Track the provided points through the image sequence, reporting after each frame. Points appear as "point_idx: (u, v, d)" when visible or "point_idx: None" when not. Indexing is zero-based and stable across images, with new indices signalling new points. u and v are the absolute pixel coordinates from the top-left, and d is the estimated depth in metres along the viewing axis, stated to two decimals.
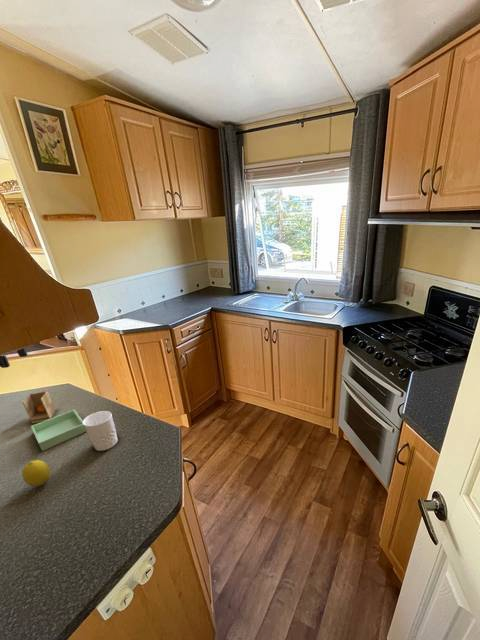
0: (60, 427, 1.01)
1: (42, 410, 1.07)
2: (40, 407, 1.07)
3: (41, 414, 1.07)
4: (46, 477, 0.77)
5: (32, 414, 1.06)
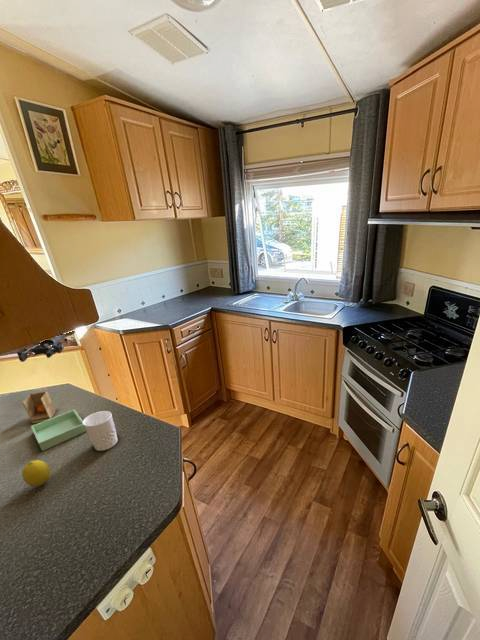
0: (60, 427, 1.01)
1: (42, 410, 1.07)
2: (40, 407, 1.07)
3: (41, 414, 1.07)
4: (46, 477, 0.77)
5: (32, 414, 1.06)
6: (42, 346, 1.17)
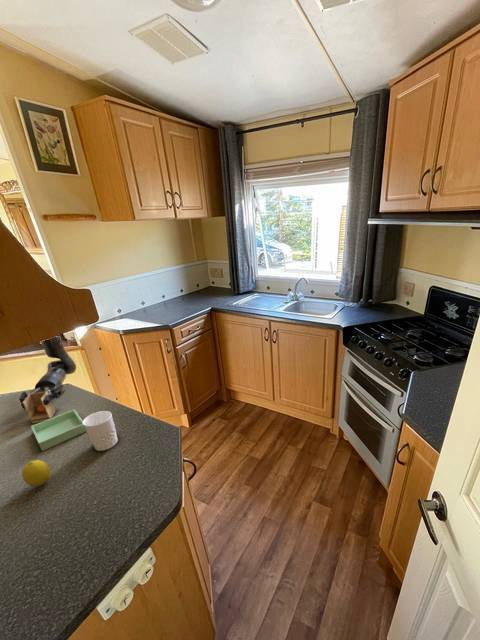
0: (60, 427, 1.01)
1: (42, 410, 1.07)
2: (40, 407, 1.07)
3: (41, 414, 1.07)
4: (46, 477, 0.77)
5: (32, 414, 1.06)
6: (43, 390, 1.11)
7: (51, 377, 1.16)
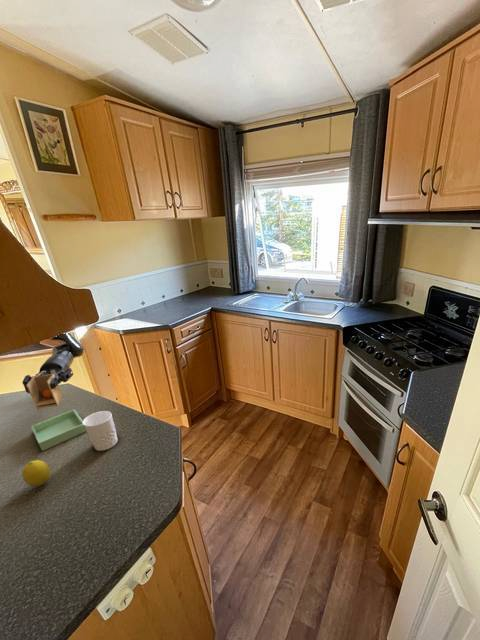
0: (60, 427, 1.01)
1: (48, 395, 0.95)
2: (46, 391, 0.95)
3: (47, 399, 0.95)
4: (46, 477, 0.77)
5: (37, 399, 0.94)
6: (49, 373, 0.99)
7: (57, 359, 1.04)
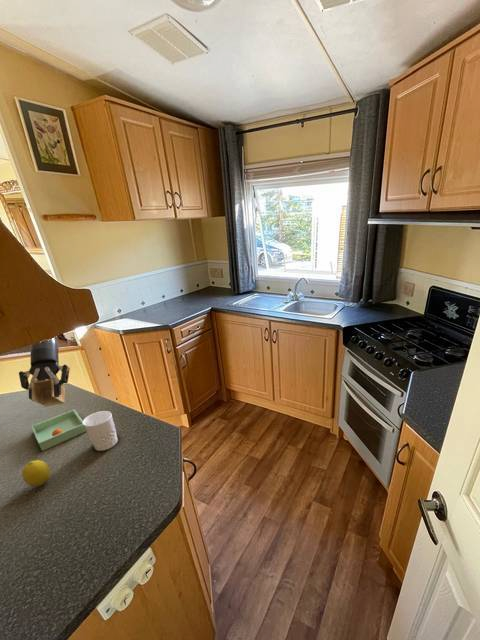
0: (60, 427, 1.01)
1: None
2: None
3: (52, 398, 0.99)
4: (46, 477, 0.77)
5: (43, 399, 0.97)
6: (44, 370, 0.96)
7: (46, 350, 0.96)
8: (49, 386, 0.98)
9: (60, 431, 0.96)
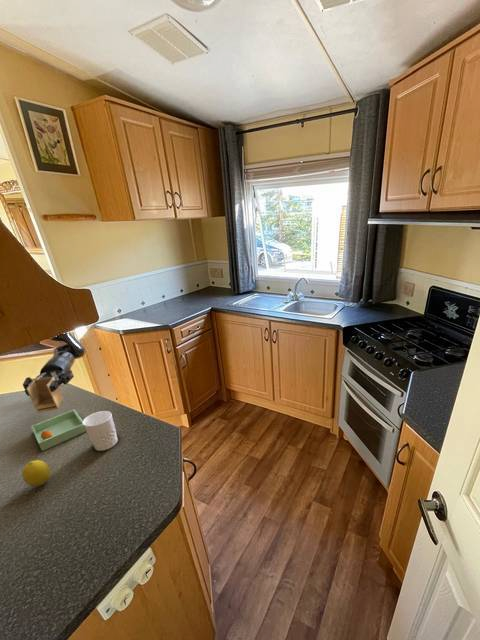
0: (60, 427, 1.01)
1: (51, 433, 0.96)
2: (46, 431, 0.95)
3: (47, 402, 0.94)
4: (46, 477, 0.77)
5: (37, 402, 0.94)
6: (49, 375, 0.99)
7: (58, 361, 1.04)
8: (49, 392, 0.97)
9: None
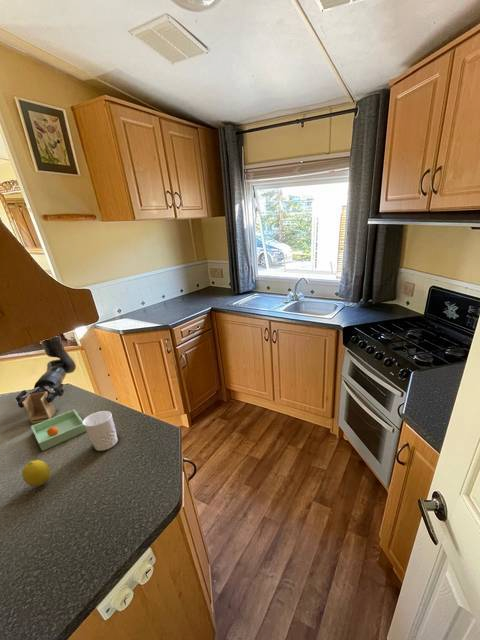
0: (60, 427, 1.01)
1: None
2: (57, 429, 0.98)
3: (41, 414, 1.07)
4: (46, 477, 0.77)
5: (32, 414, 1.06)
6: (42, 389, 1.11)
7: (51, 376, 1.16)
8: (42, 405, 1.09)
9: None
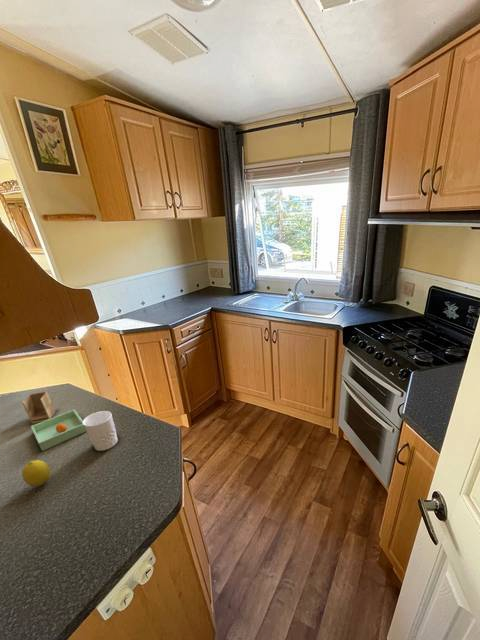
0: None
1: (58, 431, 0.98)
2: None
3: (41, 414, 1.07)
4: (46, 477, 0.77)
5: (32, 414, 1.06)
6: None
7: None
8: (42, 405, 1.09)
9: None
